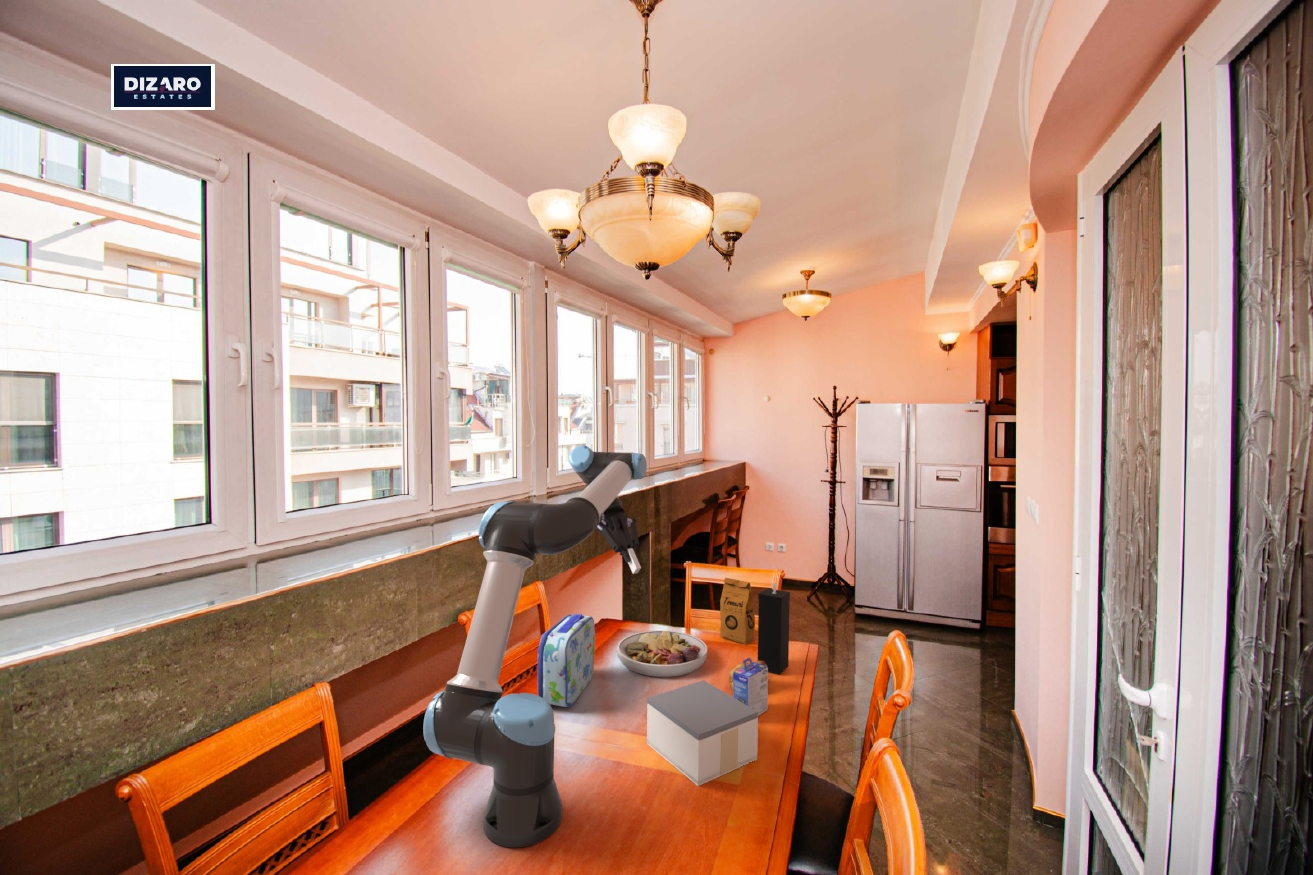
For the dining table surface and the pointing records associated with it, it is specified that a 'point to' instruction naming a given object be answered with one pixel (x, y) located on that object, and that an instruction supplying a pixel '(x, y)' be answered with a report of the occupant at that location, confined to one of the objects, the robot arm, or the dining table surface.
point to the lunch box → (566, 659)
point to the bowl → (662, 653)
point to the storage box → (702, 747)
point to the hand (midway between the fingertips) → (637, 570)
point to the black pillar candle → (773, 629)
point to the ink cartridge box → (752, 686)
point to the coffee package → (737, 611)
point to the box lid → (702, 709)
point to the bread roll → (739, 668)
